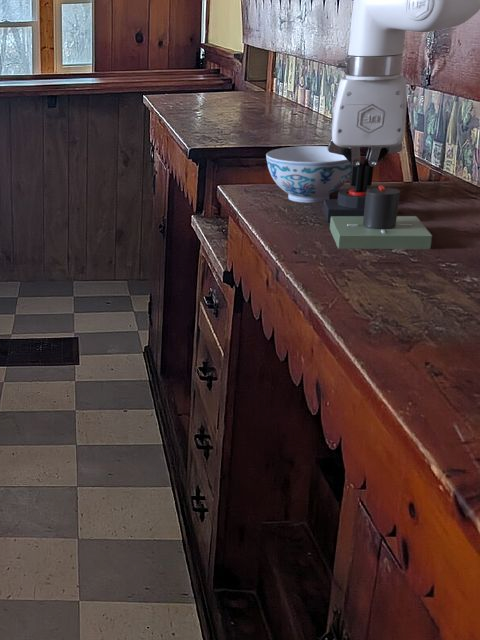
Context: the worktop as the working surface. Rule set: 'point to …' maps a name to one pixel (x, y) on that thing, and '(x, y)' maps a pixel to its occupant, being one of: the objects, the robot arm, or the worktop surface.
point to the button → (360, 193)
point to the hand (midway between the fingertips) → (359, 190)
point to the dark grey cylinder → (381, 208)
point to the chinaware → (308, 172)
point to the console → (379, 234)
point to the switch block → (344, 205)
